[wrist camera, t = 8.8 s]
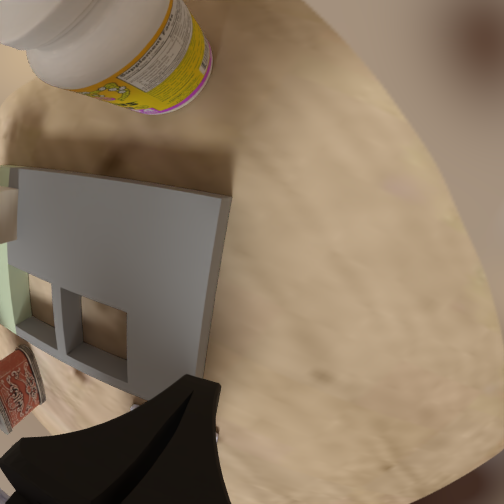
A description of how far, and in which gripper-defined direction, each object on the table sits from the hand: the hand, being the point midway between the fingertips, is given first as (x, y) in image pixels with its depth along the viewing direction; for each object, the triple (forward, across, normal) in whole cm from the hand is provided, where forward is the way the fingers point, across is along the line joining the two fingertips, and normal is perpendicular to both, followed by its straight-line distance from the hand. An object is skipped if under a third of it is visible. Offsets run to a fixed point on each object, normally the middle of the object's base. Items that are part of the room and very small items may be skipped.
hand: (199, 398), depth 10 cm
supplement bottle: (+9, +8, -14) cm, 19 cm away
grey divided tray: (+9, +13, +1) cm, 16 cm away
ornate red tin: (+10, +22, +16) cm, 29 cm away
